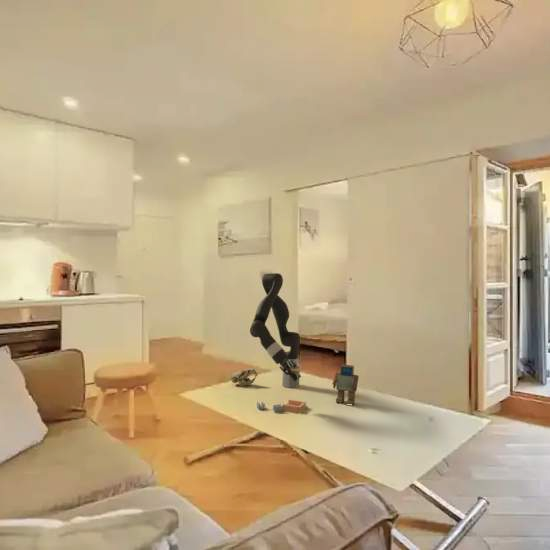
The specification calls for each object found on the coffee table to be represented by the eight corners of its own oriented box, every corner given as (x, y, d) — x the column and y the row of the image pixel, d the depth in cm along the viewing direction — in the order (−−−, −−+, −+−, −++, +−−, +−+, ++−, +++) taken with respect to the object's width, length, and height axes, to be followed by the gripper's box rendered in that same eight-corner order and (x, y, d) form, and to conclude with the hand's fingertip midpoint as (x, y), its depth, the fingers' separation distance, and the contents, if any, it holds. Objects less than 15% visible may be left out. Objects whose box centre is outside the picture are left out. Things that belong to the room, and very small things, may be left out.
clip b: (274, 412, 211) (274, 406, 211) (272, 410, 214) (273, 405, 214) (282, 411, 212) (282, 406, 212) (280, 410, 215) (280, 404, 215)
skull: (258, 384, 255) (254, 368, 255) (233, 391, 255) (228, 375, 256) (259, 381, 265) (255, 365, 265) (235, 387, 265) (231, 371, 265)
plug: (291, 384, 221) (292, 362, 220) (299, 385, 219) (300, 363, 219) (288, 386, 217) (289, 363, 216) (296, 387, 215) (297, 364, 215)
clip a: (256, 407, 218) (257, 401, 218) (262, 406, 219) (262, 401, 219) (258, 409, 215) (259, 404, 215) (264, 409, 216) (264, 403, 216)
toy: (331, 404, 228) (332, 366, 227) (336, 399, 236) (337, 363, 236) (355, 407, 223) (356, 369, 223) (358, 402, 232) (359, 366, 232)
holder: (279, 410, 215) (279, 404, 215) (287, 404, 225) (287, 399, 225) (300, 413, 211) (300, 408, 211) (307, 407, 221) (307, 401, 221)
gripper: (276, 350, 214) (298, 377, 209) (286, 346, 227) (307, 371, 222) (266, 359, 216) (288, 386, 211) (277, 354, 229) (297, 380, 225)
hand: (298, 378), depth 217 cm, fingers closed on plug, 4 cm apart
